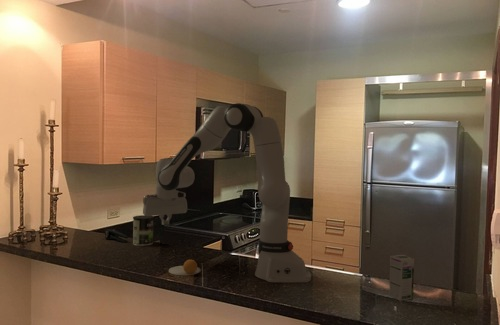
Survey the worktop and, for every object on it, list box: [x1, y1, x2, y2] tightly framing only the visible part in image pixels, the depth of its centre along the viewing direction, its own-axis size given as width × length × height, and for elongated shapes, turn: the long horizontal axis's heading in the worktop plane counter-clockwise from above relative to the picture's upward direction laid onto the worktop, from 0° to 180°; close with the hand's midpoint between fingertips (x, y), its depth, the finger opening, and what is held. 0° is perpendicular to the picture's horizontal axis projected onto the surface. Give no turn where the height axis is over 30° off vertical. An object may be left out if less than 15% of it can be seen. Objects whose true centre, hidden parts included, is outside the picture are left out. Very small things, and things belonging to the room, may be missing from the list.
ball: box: [182, 259, 198, 274], centre depth 163 cm, size 6×6×6 cm
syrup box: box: [388, 254, 415, 302], centre depth 142 cm, size 6×6×14 cm
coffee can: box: [132, 214, 155, 247], centre depth 211 cm, size 10×10×14 cm
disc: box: [168, 265, 201, 276], centre depth 167 cm, size 13×13×1 cm
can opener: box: [104, 228, 129, 244], centre depth 217 cm, size 18×7×6 cm, turn 52°
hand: (165, 224), depth 183 cm, fingers closed
